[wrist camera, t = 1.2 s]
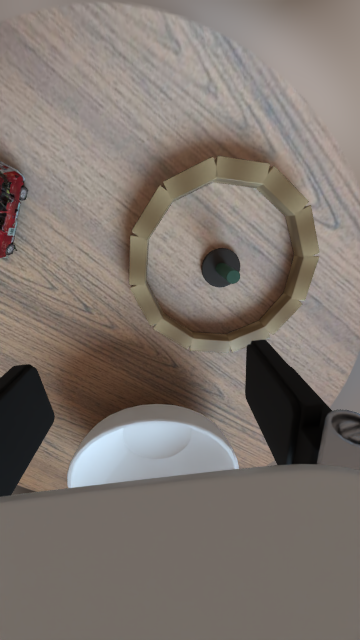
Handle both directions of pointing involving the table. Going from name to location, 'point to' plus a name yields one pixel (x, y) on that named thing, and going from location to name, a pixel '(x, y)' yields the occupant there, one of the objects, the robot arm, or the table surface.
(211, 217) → the table surface
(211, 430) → the bowl
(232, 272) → the green peg
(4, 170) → the toy car
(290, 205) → the ring
